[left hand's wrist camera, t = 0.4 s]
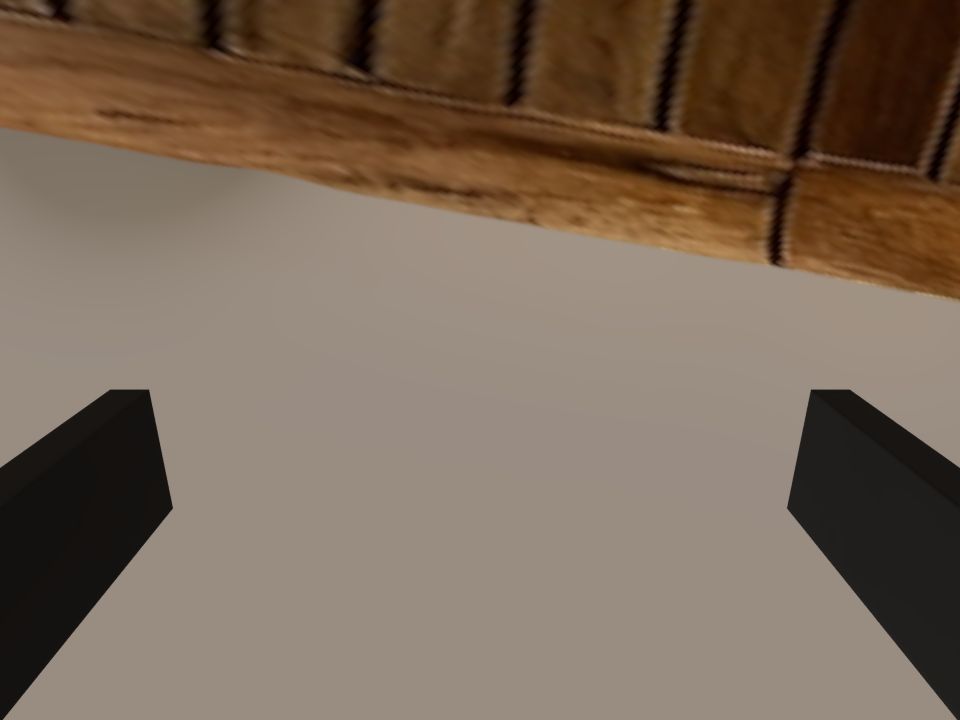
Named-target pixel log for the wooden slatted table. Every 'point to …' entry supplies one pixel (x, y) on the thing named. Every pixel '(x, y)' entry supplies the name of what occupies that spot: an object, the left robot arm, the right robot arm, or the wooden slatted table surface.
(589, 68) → the wooden slatted table surface
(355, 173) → the wooden slatted table surface
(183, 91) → the wooden slatted table surface
